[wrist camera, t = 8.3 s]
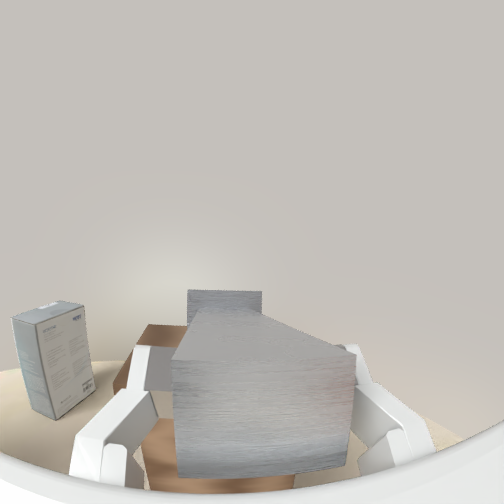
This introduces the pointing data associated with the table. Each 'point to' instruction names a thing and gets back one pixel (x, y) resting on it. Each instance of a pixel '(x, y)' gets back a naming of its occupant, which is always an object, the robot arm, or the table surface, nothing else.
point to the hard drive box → (54, 357)
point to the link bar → (256, 393)
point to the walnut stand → (163, 439)
